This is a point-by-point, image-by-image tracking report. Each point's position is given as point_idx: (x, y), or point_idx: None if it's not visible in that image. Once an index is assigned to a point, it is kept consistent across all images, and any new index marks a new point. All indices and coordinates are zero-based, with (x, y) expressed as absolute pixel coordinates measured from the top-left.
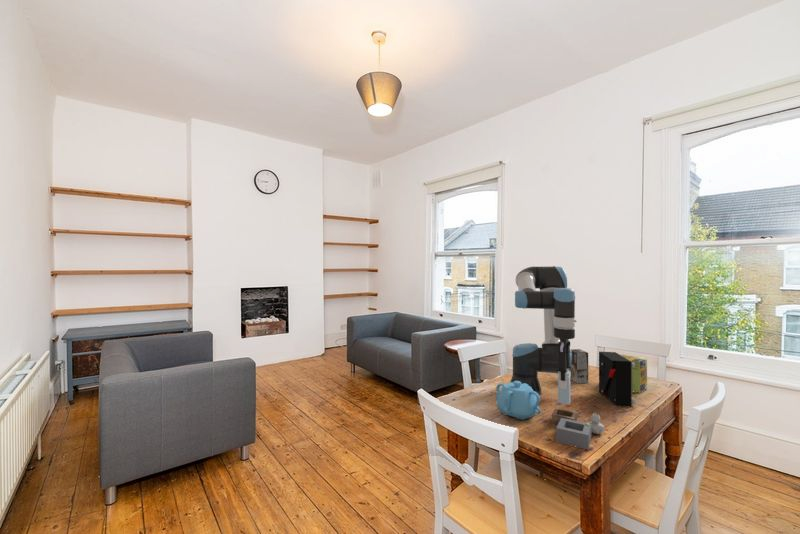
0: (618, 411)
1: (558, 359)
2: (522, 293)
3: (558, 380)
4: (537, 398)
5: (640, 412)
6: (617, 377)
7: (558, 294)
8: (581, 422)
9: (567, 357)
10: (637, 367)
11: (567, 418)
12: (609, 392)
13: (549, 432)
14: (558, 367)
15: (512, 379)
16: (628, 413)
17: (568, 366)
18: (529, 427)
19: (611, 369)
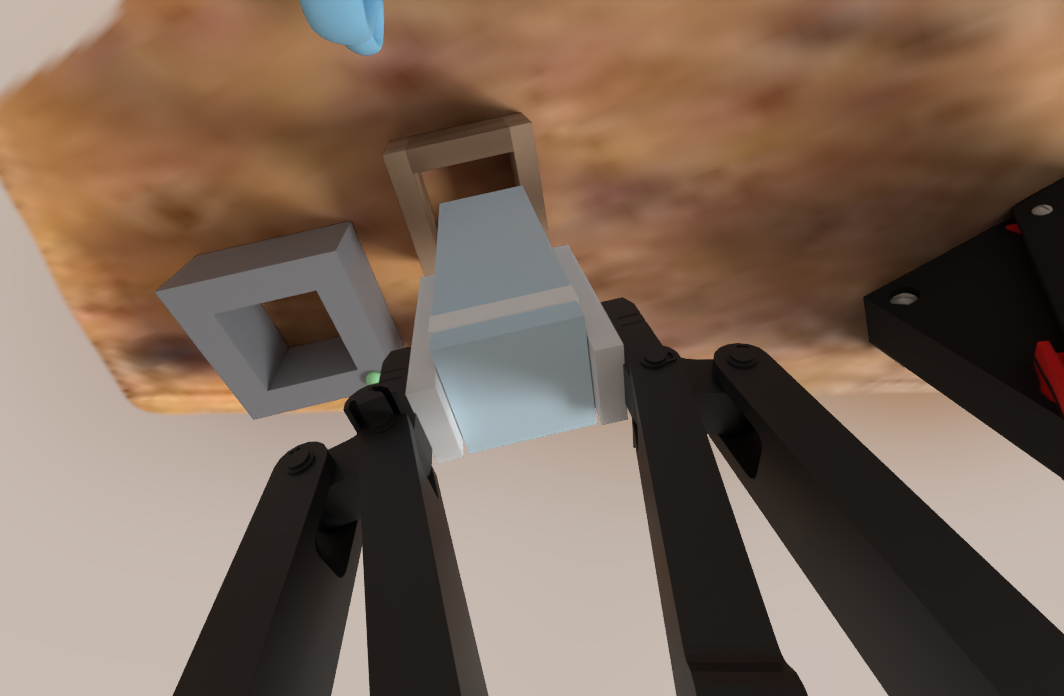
0: (791, 324)
1: (178, 689)
2: None
3: (436, 296)
4: (313, 28)
5: (813, 379)
6: (1010, 393)
7: None
8: (376, 350)
9: (659, 585)
10: None
11: (417, 252)
12: (987, 267)
13: (269, 177)
14: (256, 507)
15: None
16: (782, 355)
17: (635, 440)
18: (199, 29)
19: None
